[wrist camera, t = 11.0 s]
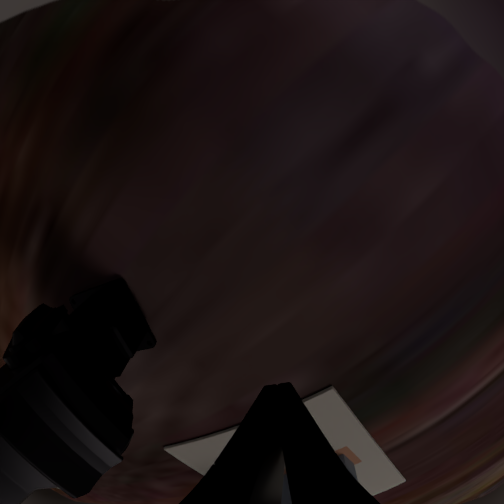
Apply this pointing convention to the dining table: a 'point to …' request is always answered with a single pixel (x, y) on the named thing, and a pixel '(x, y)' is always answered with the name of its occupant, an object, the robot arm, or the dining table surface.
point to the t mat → (335, 430)
